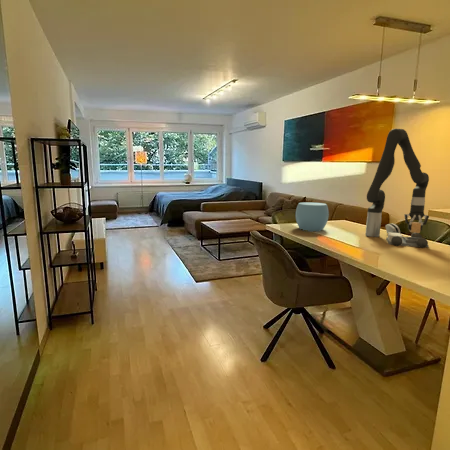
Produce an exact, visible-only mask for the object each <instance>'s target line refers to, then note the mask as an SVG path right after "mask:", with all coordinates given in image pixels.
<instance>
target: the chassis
mask: <svg viewBox="0 0 450 450" xmlns="http://www.w3.org/2000/svg"><path fill="white" fill-rule="evenodd" d="M400 233H401V232H400ZM400 233H397V232H395V231H390V232H388V234H387V237H386V238H385V239H386V242H387V244H388V245H392V246H396V247H398V246H402V247H403V246H405V247H414V248H415V247H416V248H421V249H423V248H424V249H425V247H428V248H429V247H430V246H429V242H428V240H427V239H426V238H424V237H422V235H421V233H413V232H412V233H411V235H410V236H404V235H403V236H402V233H401V234H400ZM402 237H403V238H402Z"/></svg>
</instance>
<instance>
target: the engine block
mask: <svg viewBox="0 0 450 450" xmlns="http://www.w3.org/2000/svg"><path fill="white" fill-rule="evenodd" d="M420 228H421V223H419V221H418V222H417V221H413V222H412V224H411V231H410V230H409V232H410V233H412V234H413V233H419V234H421V231H420Z"/></svg>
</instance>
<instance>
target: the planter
mask: <svg viewBox="0 0 450 450" xmlns="http://www.w3.org/2000/svg"><path fill="white" fill-rule="evenodd" d="M329 216H330V211H329V206H328V204H327V203H324V202H311V201H310V202H306V201H305V202H304V201H303V202H298V204H297V206H296V209H295V221H296V224H297V226H298V228H299V230H301V229H303V230H302V231H304V230H308V231H307V232H313V231H316V232H322V231H323V230H324V229H325V227H326V225H327V223H328V222H329ZM321 230H322V231H321Z"/></svg>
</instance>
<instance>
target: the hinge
mask: <svg viewBox="0 0 450 450" xmlns="http://www.w3.org/2000/svg"><path fill="white" fill-rule="evenodd" d="M385 230H386V231H385V232H386V234H387V233H388V232H390V231H395V232H397V233H400V234H401V235H402V233H401V230H400V227H399V226H398V225H397V224H395V223H388V224H385ZM402 236H403V237H404V235H402ZM403 237H402V239H403Z"/></svg>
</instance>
